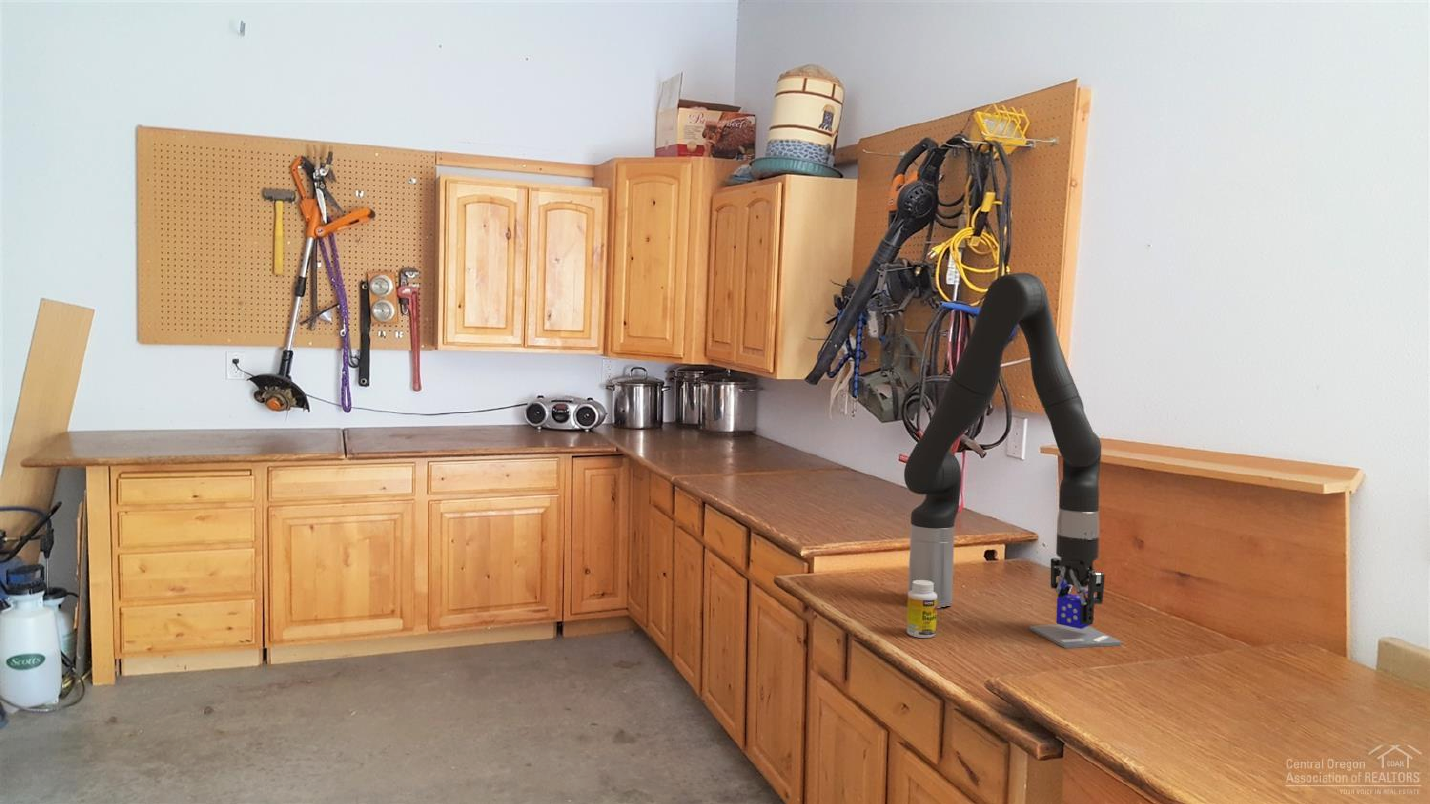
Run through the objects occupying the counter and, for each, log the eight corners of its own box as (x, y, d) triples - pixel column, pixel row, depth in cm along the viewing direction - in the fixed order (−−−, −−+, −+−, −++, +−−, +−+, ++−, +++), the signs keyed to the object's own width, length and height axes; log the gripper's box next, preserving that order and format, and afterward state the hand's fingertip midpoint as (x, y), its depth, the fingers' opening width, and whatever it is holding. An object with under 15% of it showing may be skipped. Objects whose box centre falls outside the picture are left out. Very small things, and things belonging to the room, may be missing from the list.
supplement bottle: (921, 641, 170) (923, 587, 170) (900, 633, 175) (901, 580, 174) (942, 636, 173) (944, 583, 173) (920, 629, 178) (922, 577, 177)
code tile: (1029, 629, 179) (1029, 625, 179) (1082, 626, 181) (1083, 623, 181) (1065, 648, 167) (1065, 644, 167) (1122, 645, 170) (1122, 641, 170)
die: (1067, 619, 178) (1068, 593, 177) (1092, 624, 174) (1093, 598, 174) (1056, 623, 174) (1056, 597, 174) (1081, 629, 170) (1082, 603, 170)
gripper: (1039, 526, 180) (1036, 609, 180) (1083, 540, 165) (1080, 630, 166) (1072, 526, 181) (1070, 608, 182) (1119, 539, 167) (1116, 628, 168)
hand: (1074, 618), depth 174 cm, fingers closed on die, 6 cm apart
